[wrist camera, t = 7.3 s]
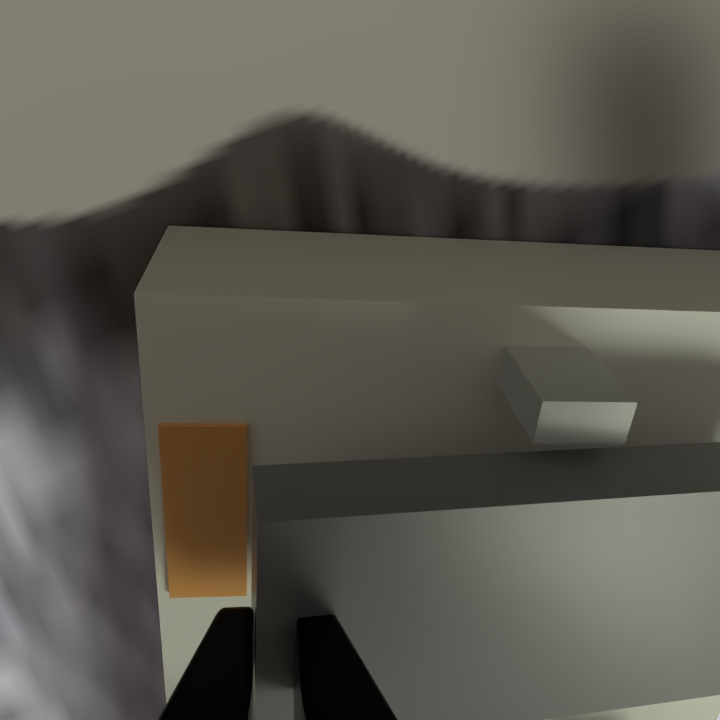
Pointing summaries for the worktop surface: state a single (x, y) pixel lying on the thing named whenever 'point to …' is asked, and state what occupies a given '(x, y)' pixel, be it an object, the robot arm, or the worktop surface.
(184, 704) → the robot arm
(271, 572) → the plate
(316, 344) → the switch panel
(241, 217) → the worktop surface
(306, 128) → the worktop surface
